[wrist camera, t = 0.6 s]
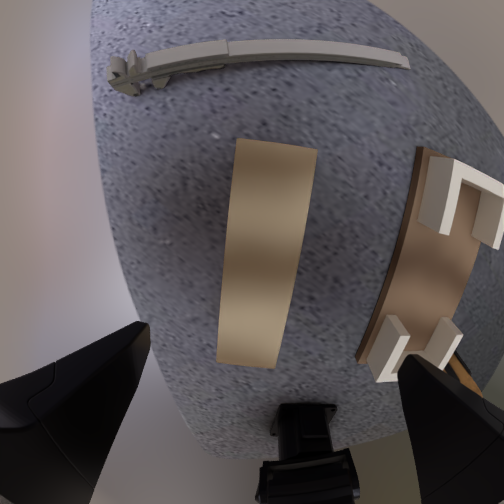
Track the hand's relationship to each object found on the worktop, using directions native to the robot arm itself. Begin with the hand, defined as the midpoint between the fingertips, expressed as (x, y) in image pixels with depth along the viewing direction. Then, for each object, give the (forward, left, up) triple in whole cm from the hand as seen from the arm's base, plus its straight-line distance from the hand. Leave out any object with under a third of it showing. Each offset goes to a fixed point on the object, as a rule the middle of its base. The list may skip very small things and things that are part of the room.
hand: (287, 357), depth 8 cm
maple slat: (0, +1, -12) cm, 12 cm away
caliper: (+13, +2, -12) cm, 18 cm away
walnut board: (0, -14, -12) cm, 18 cm away
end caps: (0, -14, -12) cm, 18 cm away
